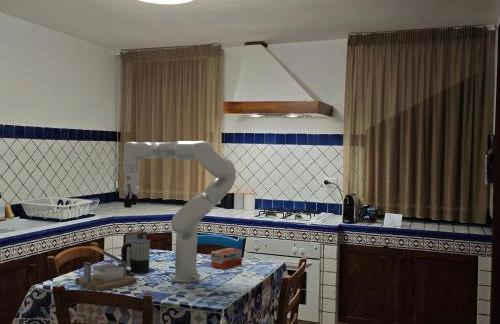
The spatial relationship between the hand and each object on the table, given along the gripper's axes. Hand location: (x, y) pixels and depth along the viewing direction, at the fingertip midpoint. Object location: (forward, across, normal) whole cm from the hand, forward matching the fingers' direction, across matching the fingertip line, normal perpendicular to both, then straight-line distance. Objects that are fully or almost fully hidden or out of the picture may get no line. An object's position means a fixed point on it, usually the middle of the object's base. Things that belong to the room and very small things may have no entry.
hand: (130, 206), depth 225 cm
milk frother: (+32, +5, -2) cm, 33 cm away
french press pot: (+32, +23, +2) cm, 40 cm away
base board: (+32, -13, +6) cm, 35 cm away
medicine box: (+32, +24, -44) cm, 60 cm away
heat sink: (+30, -13, +6) cm, 33 cm away
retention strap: (+21, -12, +6) cm, 25 cm away
